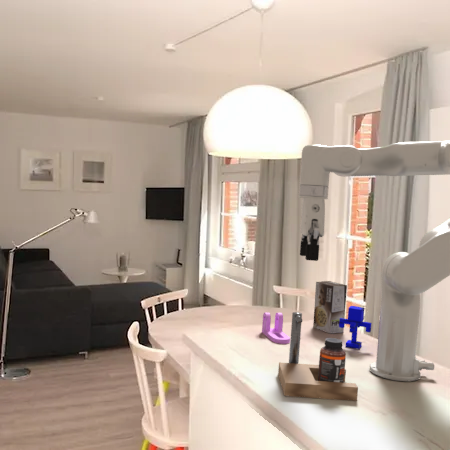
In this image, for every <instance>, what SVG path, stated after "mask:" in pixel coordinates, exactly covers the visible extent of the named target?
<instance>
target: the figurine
mask: <svg viewBox="0 0 450 450" xmlns="http://www.w3.org/2000/svg"><path fill="white" fill-rule="evenodd" d="M364 318H365V307H364V306H363V307H362V306H356V305H350V306H349V307H348V310H347V318H345V319H344V318H340V322H339V327H340V328H345V325H349V333H351V339H347V341H346V342H345V348H349V349H355V350H360V349H361V347H362V343H363V342H362V341H358V340H357V339H358V328H361V327H362V328H365V332H366V333H371V331H372V322H368V321H364Z"/></svg>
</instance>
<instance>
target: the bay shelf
mask: <svg viewBox="0 0 450 450" xmlns="http://www.w3.org/2000/svg"><path fill="white" fill-rule="evenodd" d="M277 371H278V372H277V375H278V379H279V383H280V385H281V389H282V392H283V396H284V397H292V398H308V399H309V398H310V399H321V400H322V399H323V400H338V401H339V400H340V401H354V402H357V401H358V392H359V387H358V386H357V383H355V382H354V383H353V382H346V372H347V369H346V368H345V371H344V383H342V382H326V381H318V371H319V364H311V363H309V364H308V363H298V364H296V363H289V362H281V361H280V362H278V370H277Z"/></svg>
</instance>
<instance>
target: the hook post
mask: <svg viewBox="0 0 450 450" xmlns="http://www.w3.org/2000/svg"><path fill="white" fill-rule="evenodd" d="M291 314H292V316H291V329H290V343H289V356H288V363H296V364H299V361H300V345H301V336H302V333H301V332H302V323H303V313H302V312H298V311H294V312H293V311H292V313H291Z"/></svg>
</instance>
